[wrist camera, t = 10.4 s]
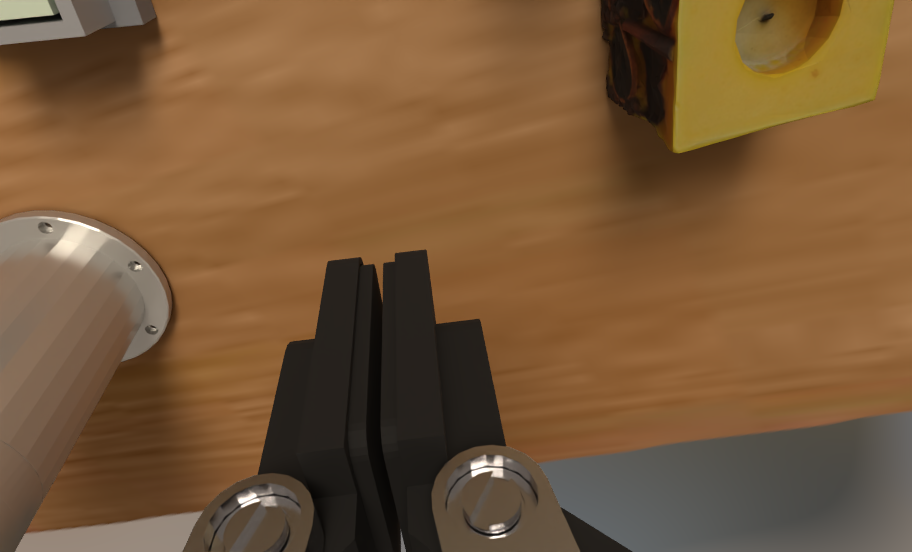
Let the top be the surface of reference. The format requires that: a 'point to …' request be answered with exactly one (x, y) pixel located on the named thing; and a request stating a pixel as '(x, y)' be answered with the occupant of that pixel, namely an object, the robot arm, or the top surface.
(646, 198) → the top surface
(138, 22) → the button board
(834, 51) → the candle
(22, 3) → the sage button
